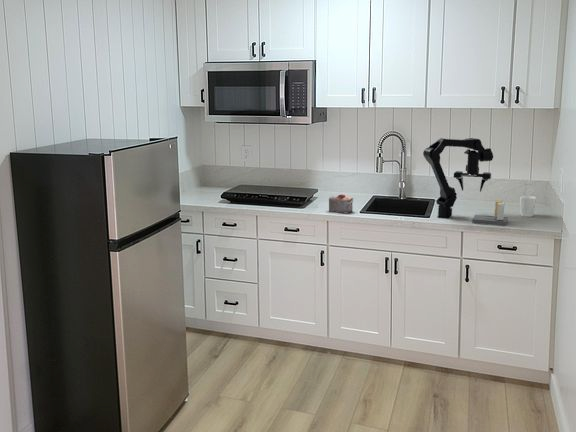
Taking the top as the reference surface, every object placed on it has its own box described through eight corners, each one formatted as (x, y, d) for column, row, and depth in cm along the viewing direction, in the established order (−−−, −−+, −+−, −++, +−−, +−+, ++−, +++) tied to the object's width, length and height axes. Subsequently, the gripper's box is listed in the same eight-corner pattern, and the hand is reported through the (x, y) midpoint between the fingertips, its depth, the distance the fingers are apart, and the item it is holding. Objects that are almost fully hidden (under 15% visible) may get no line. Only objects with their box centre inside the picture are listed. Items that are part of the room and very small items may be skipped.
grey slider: (496, 219, 295) (497, 204, 293) (497, 218, 298) (498, 202, 297) (502, 220, 294) (504, 204, 292) (503, 218, 297) (504, 203, 295)
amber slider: (494, 216, 301) (495, 201, 299) (495, 215, 304) (496, 200, 303) (500, 217, 300) (501, 202, 298) (501, 215, 303) (502, 200, 301)
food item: (354, 211, 332) (354, 194, 330) (350, 214, 325) (350, 196, 323) (332, 209, 337) (332, 192, 335) (327, 212, 330) (327, 195, 328)
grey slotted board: (472, 223, 299) (472, 219, 298) (475, 218, 309) (475, 214, 308) (505, 225, 292) (505, 221, 292) (507, 220, 302) (507, 216, 302)
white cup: (536, 215, 314) (538, 196, 311) (531, 217, 308) (532, 199, 306) (521, 213, 319) (523, 195, 316) (516, 215, 313) (517, 197, 311)
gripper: (493, 160, 314) (491, 189, 318) (457, 159, 322) (456, 187, 325) (490, 163, 304) (489, 193, 308) (454, 162, 312) (452, 191, 316)
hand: (471, 191), depth 314 cm, fingers open, 9 cm apart
